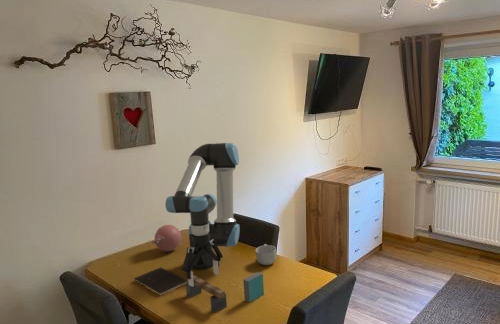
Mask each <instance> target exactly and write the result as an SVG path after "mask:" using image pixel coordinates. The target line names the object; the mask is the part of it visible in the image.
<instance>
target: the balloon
mask: <svg viewBox="0 0 500 324" xmlns="http://www.w3.org/2000/svg"><path fill="white" fill-rule="evenodd" d="M181 241H182V234H181V231H180V230H179V228H178V227H176V226H175V225H173V224H164V225H162V226H160V227H159V228H158V229H157V230H156V232H155V235H154V240H152V241H151V243H152V244H154V245H156V247H157V248H158V249H159V250H161V251H163V252H172V251H174V250H176V249H177V248H178V247H179V246H180V244H181Z"/></svg>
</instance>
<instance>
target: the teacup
mask: <svg viewBox="0 0 500 324" xmlns="http://www.w3.org/2000/svg"><path fill="white" fill-rule="evenodd" d="M254 251H255V257H256V260H257V262H258V263H259V264H260V265H262V266H270V265H272V264H273V263H275V262H276V260H277V248H276V246H274V245H269V244H267V243H264V244H263V245H260V246H258V247H256V248H255V250H254Z"/></svg>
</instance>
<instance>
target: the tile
mask: <svg viewBox="0 0 500 324" xmlns="http://www.w3.org/2000/svg"><path fill="white" fill-rule="evenodd" d="M242 281H243V295H244V296H243V297H244V301H245V302H247V303H252V302H253V301H256V300H257V299H259V298H260V297H263V296H264V294H265V293H264V292H265V290H264V289H265V288H264V273H262V272H259V271H256V272H255V273H253V274H251V275H248V276H247V277H245V278H243V280H242Z"/></svg>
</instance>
